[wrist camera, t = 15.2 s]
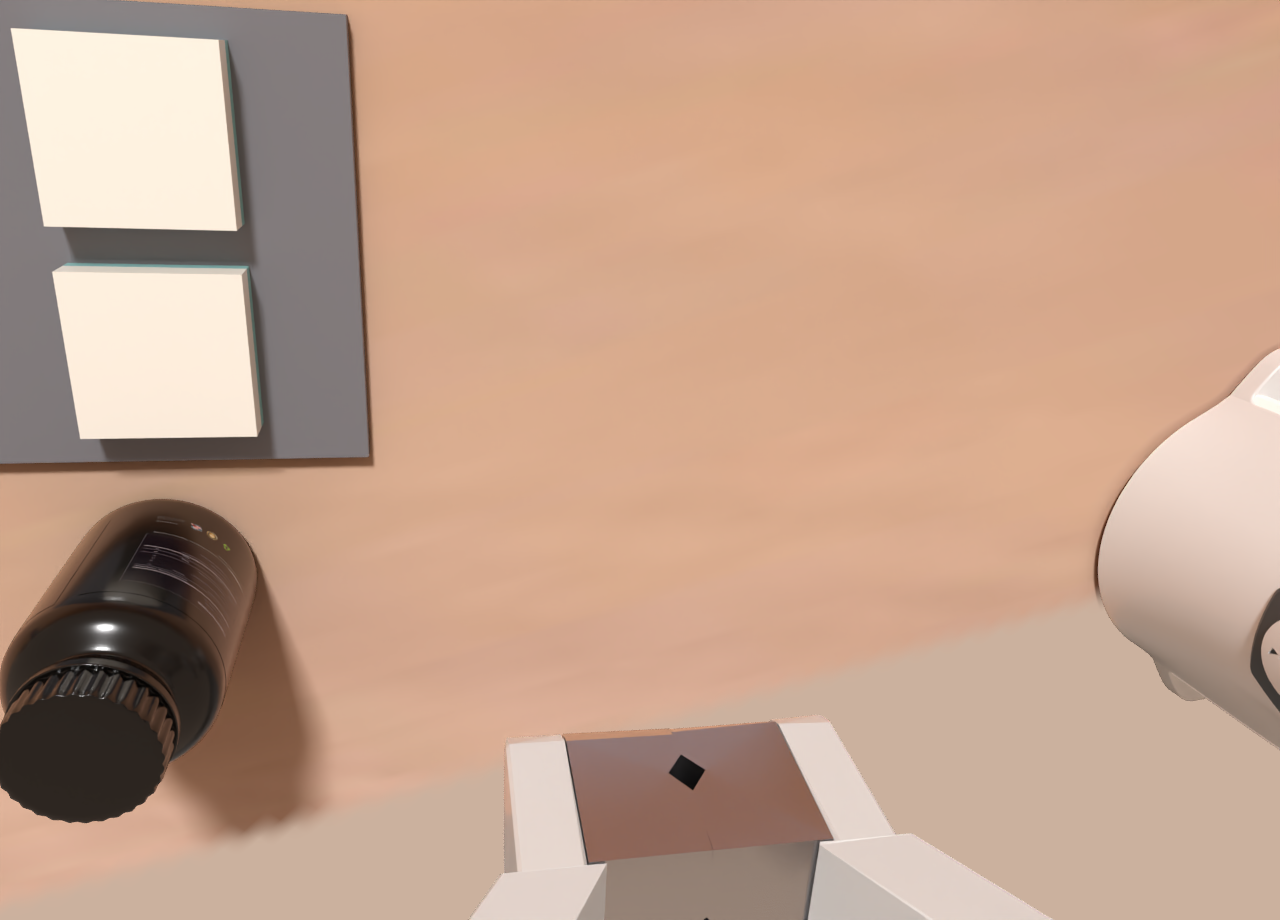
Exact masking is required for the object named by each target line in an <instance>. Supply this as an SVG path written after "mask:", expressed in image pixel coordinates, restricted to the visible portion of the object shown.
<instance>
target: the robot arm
mask: <svg viewBox="0 0 1280 920" xmlns="http://www.w3.org/2000/svg"><path fill="white" fill-rule="evenodd" d="M1098 581H1099V589H1100V594H1101V598H1102V601H1103V604H1104V607H1105V609H1106V611H1107V613H1108V616H1109V617H1110V619H1111V621H1112V622H1113V623H1114V625H1115V626H1116V627H1117V629H1118V630H1119V631H1120V632H1121V633H1122V634H1123V635H1124V636H1125V637H1126V638H1127V639H1129V640H1130V641H1131V642H1133V643H1134V644H1136V645H1137V646H1139V647H1140V648H1142V649H1143V650H1144V651H1146V652H1147V653H1148V654H1149V655H1150V656H1151V657H1152V658H1153V660H1154V662H1155V665H1156V667H1157V670H1158V672H1159V675H1160V677H1161V679H1162V681H1163V683H1164V684H1165V686H1166V687H1167V688H1168V689H1169V690H1171V691H1172V692H1174V693H1175V694H1177V695H1178V696H1179V697H1181V698H1182V699H1184V700H1187V701H1195V700H1200V699H1204V698H1206V699H1208V700H1209V701H1211V702H1212V703H1213V704H1215V705H1216V706H1218V707H1219V708H1220V709H1222V710H1223V711H1225V712H1226V713H1228V714H1229V715H1230V716H1232V717H1233V718H1235V719H1236V720H1237V721H1239V722H1240V723H1242V724H1243V725H1244V726H1246V727H1247V728H1249V729H1250V730H1252V731H1253V732H1255V733H1256V734H1257V735H1259V736H1260V737H1262V738H1263V739H1265V740H1266V741H1267V742H1269V743H1270V744H1272V745H1273V746H1275V747H1276V748H1278V749H1279V750H1280V349H1277V350H1275V351H1273V352H1272V353H1270V354H1269V355H1267V356H1266V357H1265V358H1264V359H1263V360H1262V361H1260V362H1259V363H1258V364H1257V365H1256V366H1255V367H1254V368H1253V370H1252V371H1251V372H1250V373H1249V374H1248V375H1247V376H1246V377H1245V378H1244V379H1243V381H1242V382H1241V383H1240V384H1239V385H1238V386H1237V388H1236V389H1235V390H1234V391H1233V392H1232V393H1231V395H1230V396H1228V397H1227V398H1226V399H1224V400H1223V401H1222V402H1220V403H1219V404H1218V405H1216V406H1215V407H1213V408H1211V409H1210V410H1208V411H1207V412H1205V413H1203V414H1202V415H1200V416H1198V417H1197V418H1195V419H1193V420H1192V421H1190V422H1189V423H1187V424H1186V425H1184V426H1183V427H1181V428H1180V429H1179V430H1177V431H1176V432H1175V433H1174V434H1172V435H1171V436H1170V437H1169V438H1167V439H1166V440H1165V441H1164V442H1163V443H1162V444H1161V445H1160V446H1159V447H1158V448H1156V449H1155V450H1154V451H1153V452H1152V453H1151V455H1150V456H1149V457H1148V458H1147V459H1146V460H1145V461H1144V462H1143V463H1142V465H1141V466H1140V467H1139V468H1138V469H1137V471H1136V472H1135V473H1134V475H1133V476H1132V477H1131V479H1130V480H1129V482H1128V483H1127V485H1126V486H1125V488H1124V489H1123V491H1122V493H1121V495H1120V496H1119V498H1118V500H1117V502H1116V504H1115V506H1114V508H1113V510H1112V512H1111V514H1110V517H1109V519H1108V522H1107V525H1106V528H1105V531H1104V534H1103V538H1102V542H1101V546H1100V552H1099V561H1098ZM504 866H505V867H504V868H505V873H504V874H500V875H499V877H498V878H497V879H496V881H495V882H494V884H493V885H492V886H491V888H490V889H489V891H488V892H487V894H486V895H485V896H484V898H483V899H482V901H481V902H480V903H479V905H478V906H477V908H476V909H475V911H474V912H473V913H472V915H471V916H470V918H469V919H468V920H1053V919H1051V918H1049V917H1048V916H1046V915H1045V914H1043V913H1041V912H1040V911H1038V910H1036V909H1035V908H1033V907H1031V906H1030V905H1028V904H1027V903H1025V902H1023V901H1022V900H1020V899H1018V898H1017V897H1015V896H1013V895H1012V894H1010V893H1009V892H1007V891H1005V890H1003V889H1002V888H1000V887H999V886H997V885H995V884H994V883H992V882H991V881H989V880H987V879H985V878H984V877H982V876H981V875H979V874H977V873H976V872H974V871H973V870H971V869H969V868H968V867H966V866H964V865H963V864H961V863H959V862H958V861H956V860H955V859H953V858H951V857H950V856H948V855H946V854H945V853H943V852H941V851H940V850H938V849H936V848H935V847H933V846H931V845H930V844H928V843H927V842H925V841H923V840H922V839H920V838H918V837H917V836H915V835H914V834H902V835H896V833H895V831H894V830H893V828H892V826H891V825H890V823H889V821H888V819H887V818H886V816H885V814H884V813H883V811H882V809H881V808H880V806H879V804H878V802H877V801H876V799H875V797H874V796H873V794H872V792H871V790H870V789H869V787H868V786H867V784H866V782H865V780H864V779H863V777H862V775H861V773H860V772H859V770H858V768H857V767H856V765H855V763H854V762H853V760H852V758H851V757H850V755H849V753H848V751H847V750H846V748H845V746H844V745H843V743H842V741H841V740H840V738H839V736H838V734H837V733H836V731H835V729H834V728H833V726H832V724H831V722H830V721H829V720H828V719H827V718H825V717H824V716H822V715H811V716H801V717H791V718H782V719H771V720H770V721H769V722H755V723H743V724H730V725H718V726H705V727H692V728H679V729H650V730H631V731H611V732H591V733H571V734H563V735H562V737H561V735H560V734H559V735H543V736H528V737H512V738H506V743H505V749H504Z"/></svg>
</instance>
